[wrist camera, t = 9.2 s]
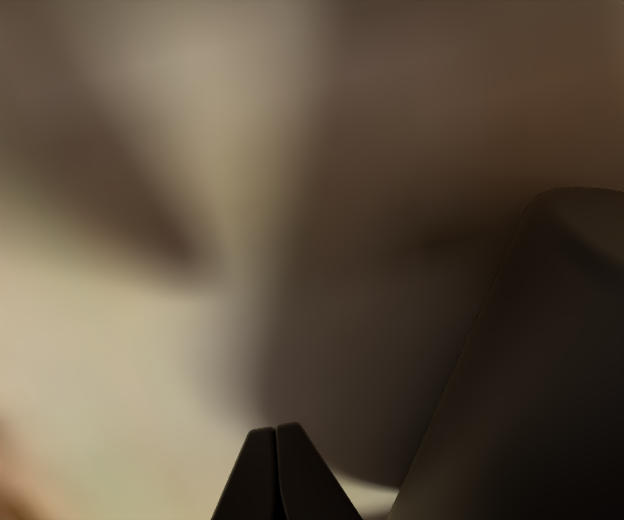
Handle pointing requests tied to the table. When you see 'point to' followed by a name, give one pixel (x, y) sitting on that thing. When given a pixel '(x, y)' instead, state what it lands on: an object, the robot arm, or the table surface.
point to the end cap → (536, 379)
